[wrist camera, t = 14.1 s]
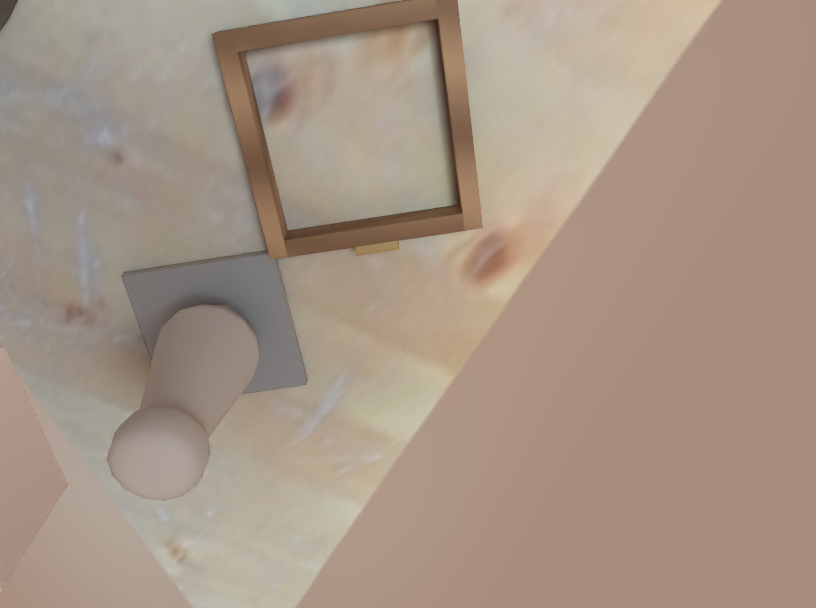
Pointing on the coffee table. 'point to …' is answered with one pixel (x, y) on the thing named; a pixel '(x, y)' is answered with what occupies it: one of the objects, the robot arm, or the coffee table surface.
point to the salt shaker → (184, 401)
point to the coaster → (225, 284)
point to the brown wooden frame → (364, 235)
